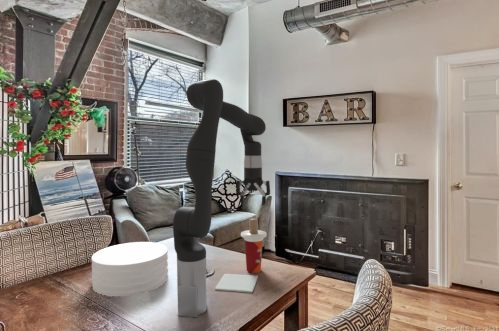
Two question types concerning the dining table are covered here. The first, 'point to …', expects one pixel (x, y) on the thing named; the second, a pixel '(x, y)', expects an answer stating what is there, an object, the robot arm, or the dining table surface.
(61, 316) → the dining table surface
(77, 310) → the dining table surface
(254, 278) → the rubber mat
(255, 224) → the cup lid
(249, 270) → the coffee cup
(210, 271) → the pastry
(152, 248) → the plate stack
